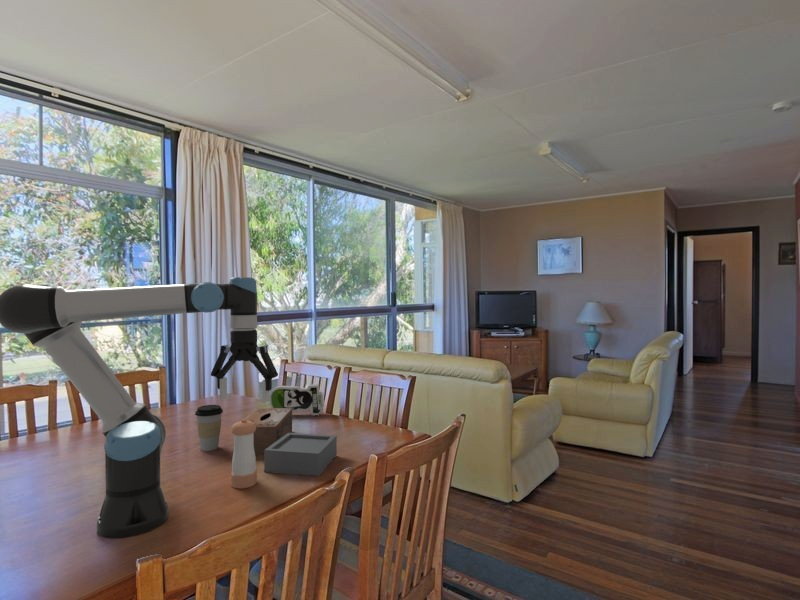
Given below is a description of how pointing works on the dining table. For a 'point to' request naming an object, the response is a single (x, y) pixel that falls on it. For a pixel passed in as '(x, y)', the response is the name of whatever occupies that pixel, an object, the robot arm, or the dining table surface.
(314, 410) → the cutout
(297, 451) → the tray
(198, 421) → the coffee cup
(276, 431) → the tissue box cover
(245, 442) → the salt shaker
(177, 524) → the dining table surface
